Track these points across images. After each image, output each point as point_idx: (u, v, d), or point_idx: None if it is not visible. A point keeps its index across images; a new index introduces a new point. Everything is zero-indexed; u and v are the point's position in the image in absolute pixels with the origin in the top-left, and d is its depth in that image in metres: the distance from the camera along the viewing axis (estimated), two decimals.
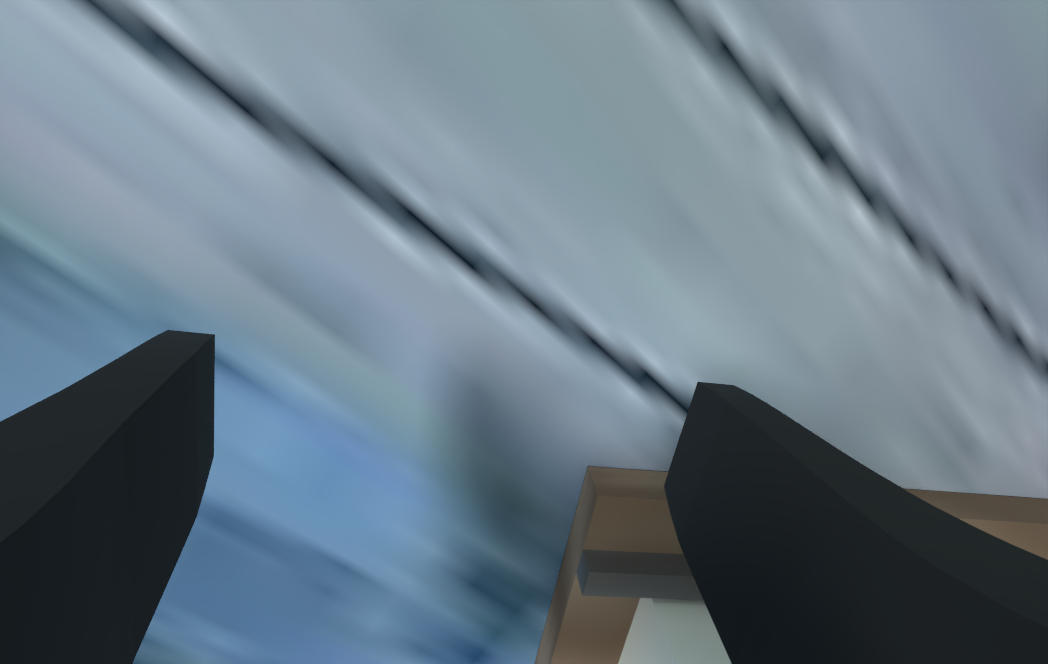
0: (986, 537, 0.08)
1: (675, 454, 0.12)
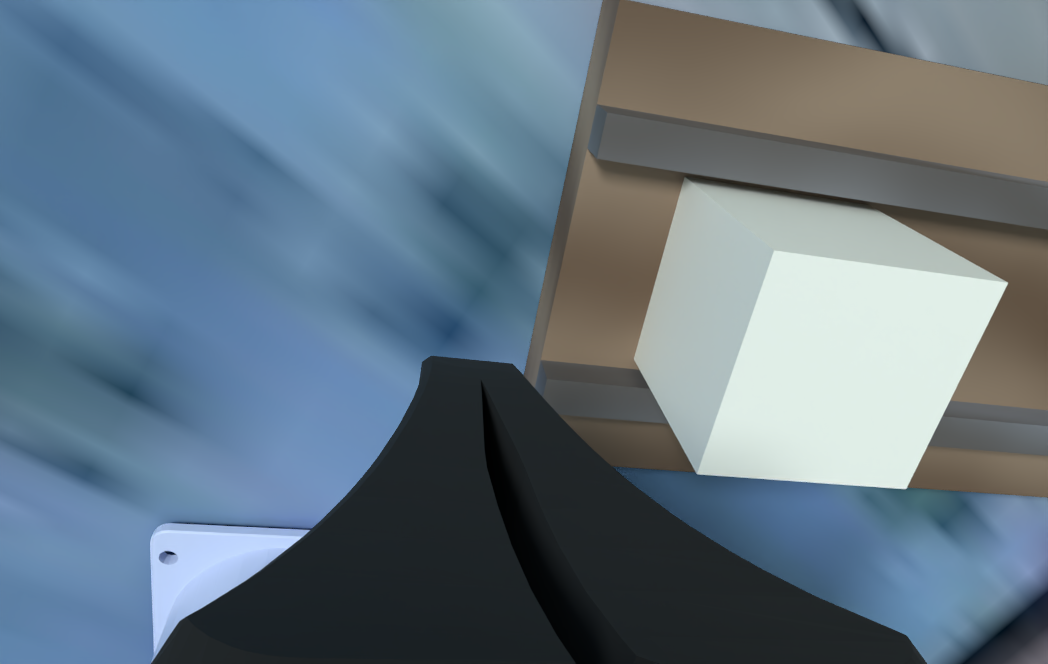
0: (665, 518, 0.07)
1: None
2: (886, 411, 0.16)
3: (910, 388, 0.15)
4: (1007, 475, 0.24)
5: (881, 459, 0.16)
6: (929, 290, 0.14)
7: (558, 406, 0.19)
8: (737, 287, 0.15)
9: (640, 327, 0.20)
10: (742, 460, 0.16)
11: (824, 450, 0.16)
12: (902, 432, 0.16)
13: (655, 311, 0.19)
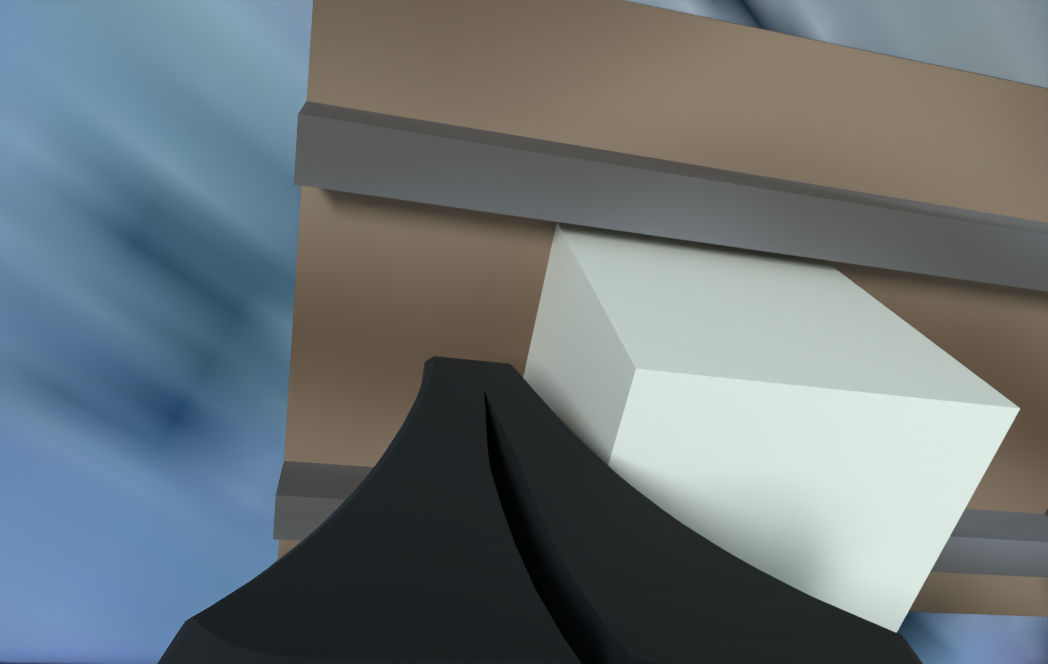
0: (661, 518, 0.07)
1: None
2: (833, 590, 0.10)
3: (868, 559, 0.10)
4: (954, 590, 0.18)
5: None
6: (895, 421, 0.09)
7: (300, 530, 0.14)
8: (596, 411, 0.09)
9: None
10: None
11: None
12: None
13: None
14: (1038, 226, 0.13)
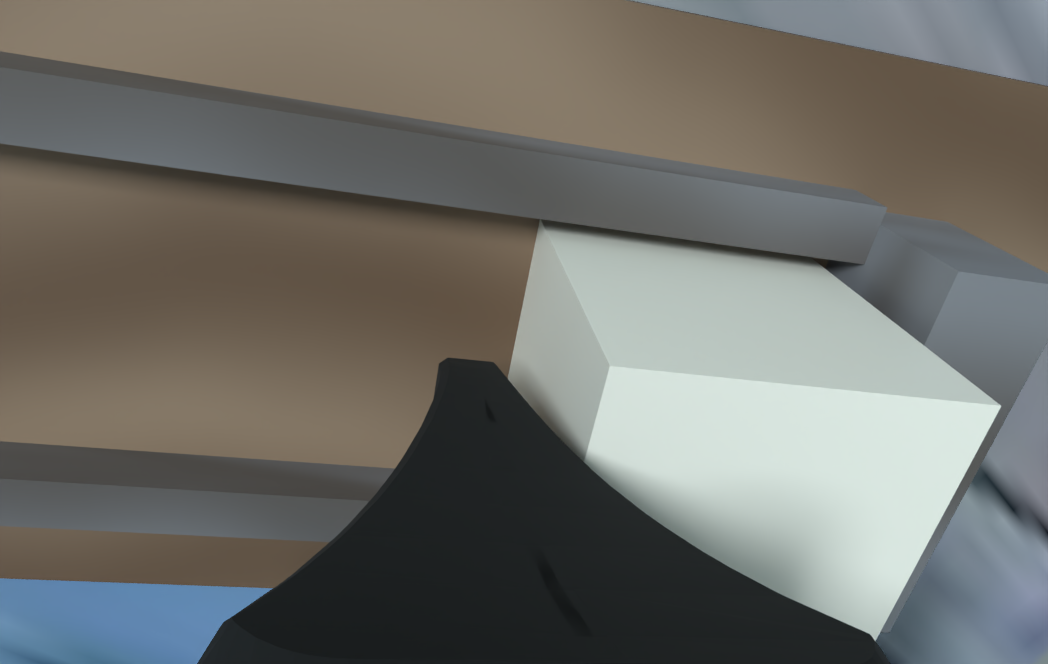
0: (636, 516, 0.07)
1: None
2: (814, 589, 0.10)
3: (849, 557, 0.10)
4: None
5: None
6: (874, 420, 0.09)
7: None
8: (573, 410, 0.09)
9: None
10: None
11: None
12: (841, 617, 0.11)
13: None
14: (625, 158, 0.12)
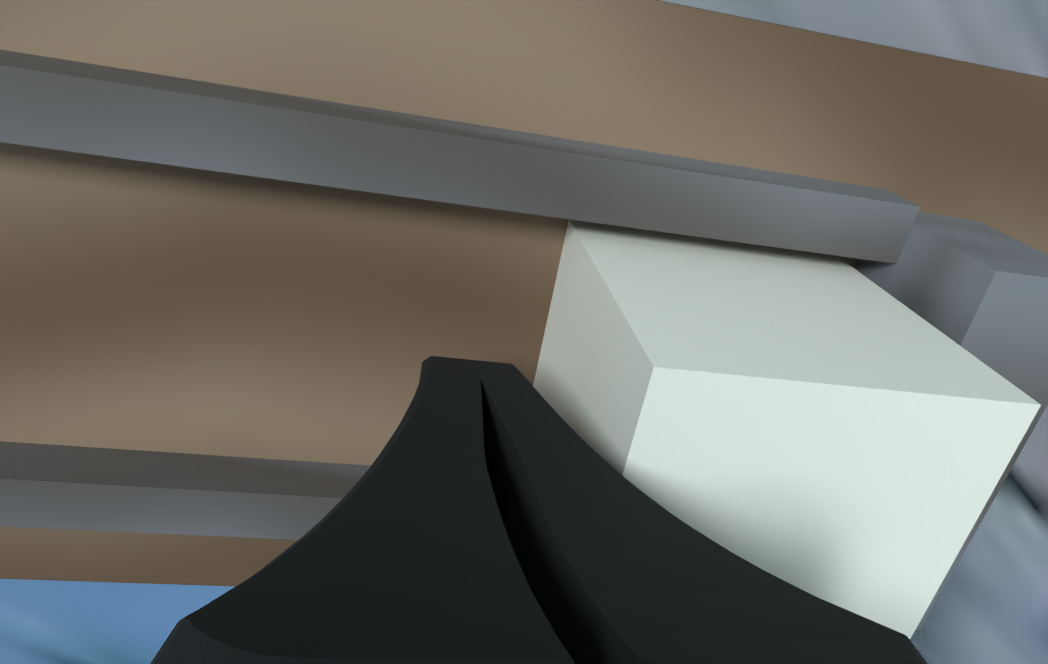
0: (665, 518, 0.07)
1: None
2: (850, 589, 0.10)
3: (886, 556, 0.10)
4: None
5: None
6: (914, 419, 0.09)
7: None
8: (612, 410, 0.09)
9: None
10: None
11: None
12: (877, 616, 0.11)
13: None
14: (658, 159, 0.12)
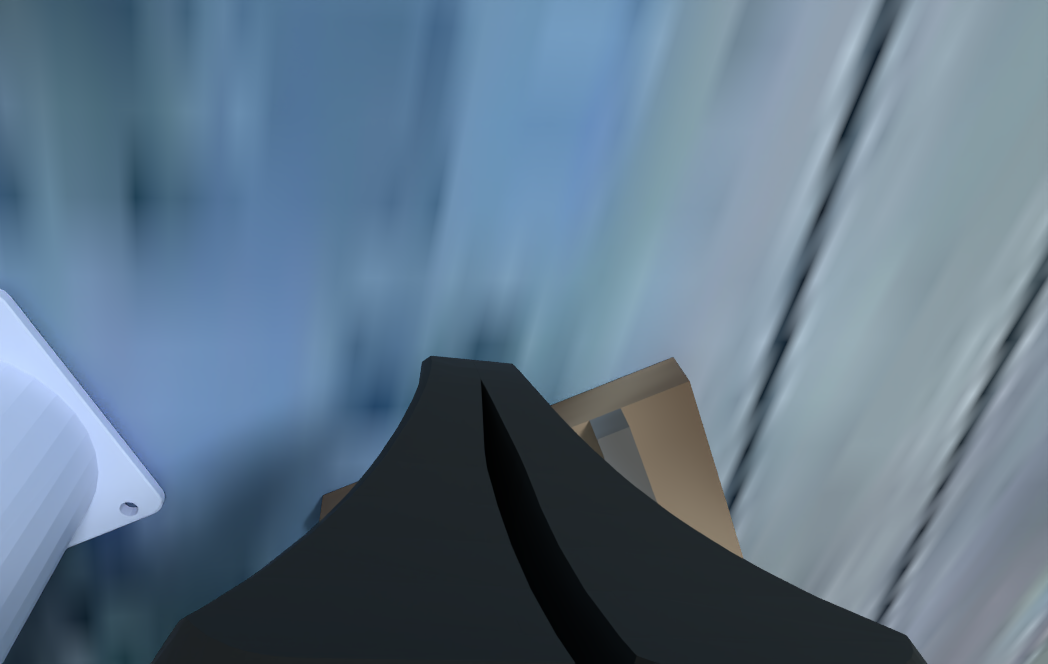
0: (665, 518, 0.07)
1: None
2: None
3: None
4: None
5: None
6: None
7: None
8: None
9: None
10: None
11: None
12: None
13: None
14: None
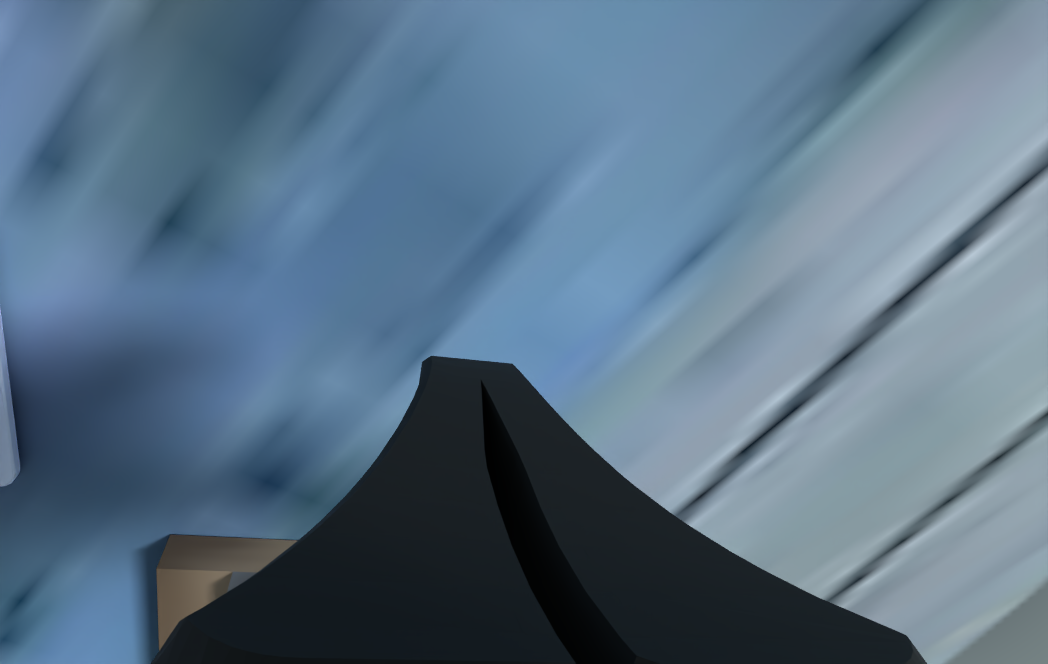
0: (665, 518, 0.07)
1: None
2: None
3: None
4: None
5: None
6: None
7: None
8: None
9: None
10: None
11: None
12: None
13: None
14: None
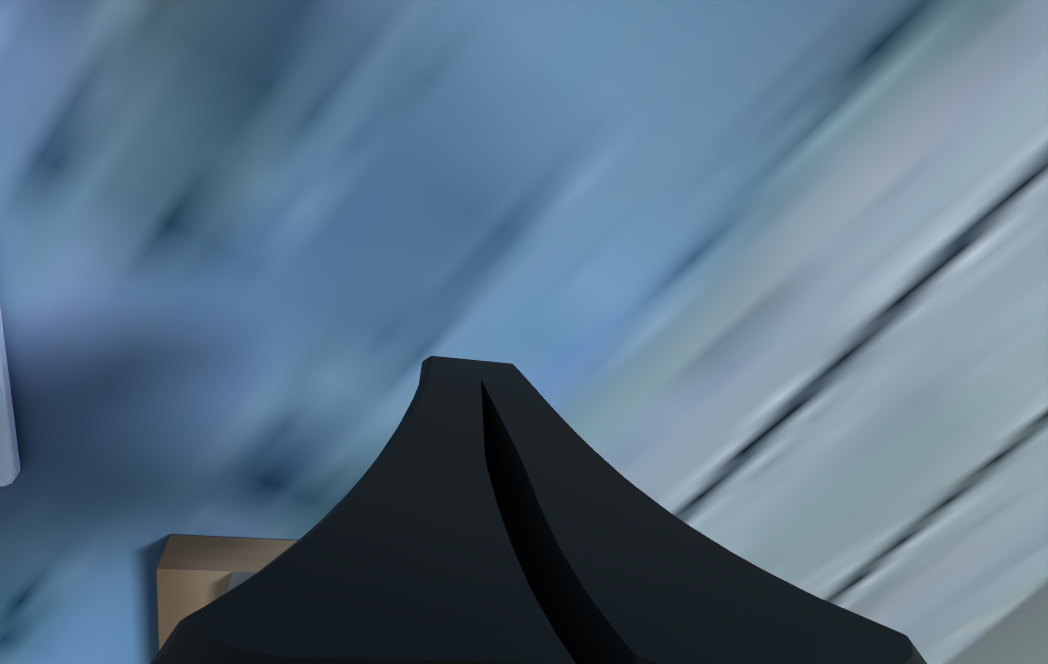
0: (665, 518, 0.07)
1: None
2: None
3: None
4: None
5: None
6: None
7: None
8: None
9: None
10: None
11: None
12: None
13: None
14: None
